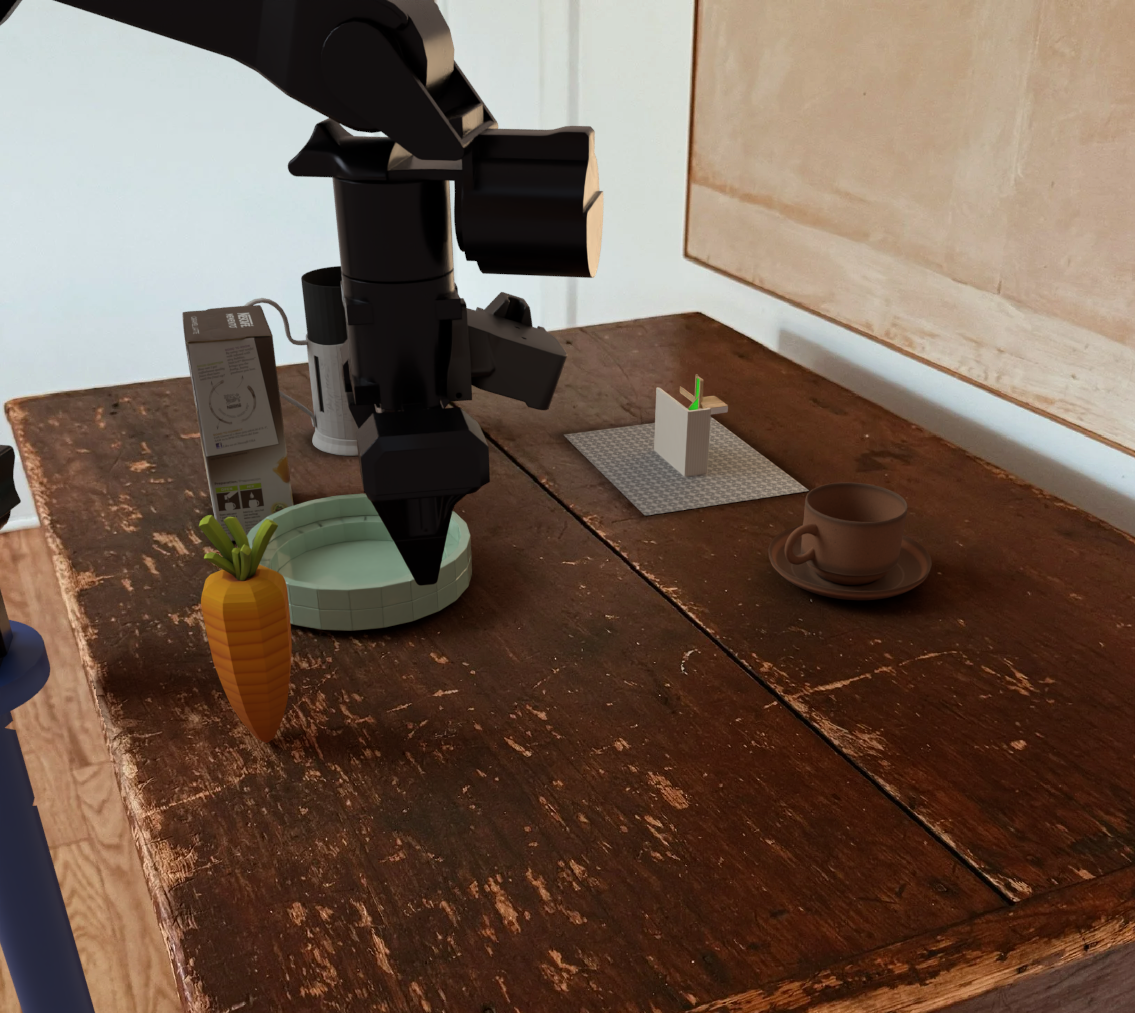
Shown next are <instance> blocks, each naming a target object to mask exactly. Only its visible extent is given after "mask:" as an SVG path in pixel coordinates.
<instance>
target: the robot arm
mask: <svg viewBox="0 0 1135 1013" xmlns="http://www.w3.org/2000/svg"><path fill="white" fill-rule="evenodd" d="M22 1H23V0H0V27H1V26H2V25H3V24H4V23H6V22H7V21H8V20H9V19H10V18H11V16H12V14H13V13H14V12H15V11H16V9H17V8H18V7H19V6H20V4H21V3H22ZM53 1H54V2H57V3H60V4H63V5H66V6H69V7H72V8H75V9H77V10H82V11H84V12H87V13H91V14H93V15H97V16H99V17H104V18H106V19H110V20H112V21H115V22H119V23H121V24H124V25H127V26H130V27H134V28H137V29H140V30H143V31H146V32H149V33H152V34H155V35H158V36H162V37H165V38H168V39H171V40H174V41H177V42H180V43H183V44H186V45H189V46H191V47H195V48H198V49H201V50H205V51H208V52H211V53H213V54H217V55H220V56H223V57H226V58H229V59H231V60H234V61H236V62H238V63H239V64H241V65H243V66H246V67H247V68H249V69H251V70H253V71H254V72H256V73H258V74H259V75H261V77H263V78H264V79H265V80H267V81H268V82H269V83H270V84H271V85H273V86H274V87H276V88H277V89H278V90H279V91H281V93H283V94H285V95H286V96H288V97H290V98H291V99H293V100H295V101H296V102H298V103H300V104H302V105H303V106H305V107H307V108H310V109H311V110H313V111H315V112H317V113H319V114H321V115H323V116H325V117H327V118H326V119H324V120H321V121H319V122H317V123H316V124H315V125H314V128H313V131H312V133H311V135H310V137H309V139H308V140H307V141H306V143H305V145H304V146H303V147H302V148H301V150H300V151H299V152H298V153H297V154H296V155H295V156H294V157H292V158H291V159H290V160H289V161H288V163H287V170H288V173H289V174H290V175H291V176H293V177H296V178H297V177H298V178H299V177H300V178H332V189H333V200H334V209H335V218H336V219H335V220H336V231H337V241H338V250H339V252H338V253H339V261H340V263H339V264H340V266H341V274H342V281H341V291H342V301H343V305H344V309H345V316H346V326H347V336H348V339H347V340H346V341H345V343H344V344H343V345H342V346H341V347H340V348H339V350H340V360H341V370H342V379H343V385H344V390H345V393H346V397H347V402H348V407H349V410H350V412H351V414H352V416H353V418H354V420H355V422H356V425H357V427H358V431H357V432H356V438H357V449H358V455H357V457H358V467H359V473H360V479H361V483H362V489H363V493H364V494H366V496H367V498H368V499H369V500H370V501H371V503H372V504H373V506H374V508H375V510H376V511H377V513H378V515H379V516H380V518H381V520H382V522H383V523H384V525H385V527H386V529H387V531H388V532H389V534H390V536H391V538H392V540H393V541H394V543H395V545H396V547H397V548H398V550H399V552H400V554H401V556H402V558H403V559H404V561H405V563H406V565H407V567H408V569H409V570H410V572H411V574H412V576H413V578H414V580H415V582H416V583H417V584H418V585H420V586H423V585H433V584H435V583H437V581H438V576H439V572H440V567H441V562H442V557H443V553H444V548H445V543H446V538H447V533H448V529H449V524H450V520H451V516H452V512H453V511H454V508H455V506H456V505H457V504H458V503H459V502H460V501H461V500H462V499H463V498H465V497H466V496H467V495H471V494H475V493H477V492H478V491H480V490H481V488H482V487H484V486H486V485H487V484H489V483H490V482H491V474H490V473H491V472H490V471H491V470H490V447H489V444H488V442H487V439H486V437H485V435H484V432H483V430H482V428H481V425H480V424H479V422H478V421H477V420H475V419H474V418H473V417H472V416H471V415H470V414H468V412H466V411H465V410H464V409H462V407H461V406H456V407H448V405H449V404H450V403H451V402H464V401H473V388H472V387H474V388H476V389H479V390H481V391H484V392H487V393H491V394H495V395H498V396H502V397H505V398H508V399H512V400H516V401H520V402H522V403H525V406H526V407H528V408H530V409H534V410H538V411H548V410H549V409H550V407H551V403H552V400H553V398H554V395H555V392H556V389H557V386H558V384H559V381H560V377H561V375H562V372H563V369H564V367H565V364H566V361H567V358H568V352H567V351H566V350H565V348H564V347H563V345H562V344H561V343H560V341H559V340H558V338H557V337H556V336H555V335H553V334H552V333H550V332H548V331H547V330H546V328H545V327H543V326H541V325H537V327H535V326H533V319H532V318H533V317H532V313H531V312H532V311H531V307H530V306H529V304H528V303H527V301H526V300H525V299H524V298H523V297H520V296H516V295H513V294H510V293H507V292H504V291H500V292H499V294H497V296H495V298H493V300H491V302H490V303H489V304H488V305H487V306H486V307H485V308H482V307H480V306H476V309H473V308H469V307H467V302H466V300H465V298H463V297H462V298H461V296H460V295H459V287H458V286H457V283H456V282H455V268H454V267H455V266H454V247H453V246H454V244H453V243H454V242H453V227H452V226H453V225H452V222H453V221H452V208H451V206H452V205H451V204H452V203H451V183H450V182H453V186H454V187H453V188H454V196H453V197H454V198H453V199H454V203H453V220H454V233H455V239H456V244H457V246H458V248H459V251H461V252H462V253H464V258H465V260H466V262H476V265H477V267H478V270H479V271H480V273H482V274H483V275H506V276H507V275H509V276H531V277H535V276H537V277H557V278H559V277H561V278H584V279H585V278H586V279H594V278H596V275H597V271H598V269H599V264H600V263H599V262H600V259H601V258H600V257H601V249H602V242H603V241H602V240H603V227H604V226H603V225H604V190H600V177H599V176H600V174H599V173H600V172H599V166H598V165H599V164H598V159H597V156H596V152H595V147H596V146H595V138H596V136H595V134H596V131H595V129H594V128H593V127H592V126H590V125H564V126H561V127H557V128H553V129H527V128H526V129H525V128H499V123H498V121H497V119H496V117H495V116H494V115H493V113H492V112H491V110H490V109H489V107H487V105H486V103H485V102H484V101H483V99H482V97H481V96H480V95H479V94H478V92H477V91H476V89H475V87H474V86H473V85H472V83H471V82H470V81H469V79H468V78H467V76H466V74H465V73H464V72H463V70H462V69H461V67H460V66H459V64H458V63H457V61H456V60H455V47H454V42H453V36H452V33H451V28H450V27H449V25H448V23H447V21H446V18H445V17H444V15H443V14H442V12H441V10H440V7H439V5H438V4H437V3H436V2H435V1H434V0H52V2H53ZM344 127H345V128H344ZM346 128H347V129H351V130H353V131H354V132H355V131H356V132H360V133H369V134H375V133H382V134H383V135H385V136H365V135H364V136H362V135H353V134H352V133H350V131H348V130H347V129H346ZM15 461H16V452H15V449H14V447H13V446H12V445H9V444H0V530H2V529H3V528H4V527H5V526H6V525H7V524H8V522H9V520H10V518H11V513H12V510H13V509H15V507H18V506H19V504H21V503H22V500H21V497H20V495H19V493H18V491H17V489H16V483H15V479H14V473H15V472H14V470H15V463H16V462H15ZM6 608H7V607H6V605H5V600H4V597H3V593H2V588H0V667H1V664H2V661H3V658H4V657H5V656H6V655H7V654H8V651H9V648H10V645H11V642H12V639H13V634H12V630H11V626H10V622H9V620H10V619H9V615H8V611H7V609H6Z"/></svg>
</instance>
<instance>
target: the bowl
mask: <svg viewBox="0 0 1135 1013" xmlns="http://www.w3.org/2000/svg"><path fill="white" fill-rule="evenodd" d="M266 519H270V520H272V521H274V522H275V523H277V525H278V527H277V529H276V531H275V532H274V534H273V535H272V537H271V539H270V541H269V543H268V545H267V548H266V550H265V552H264V554H263V557H262V559H261V561H260V563H259V564H260V565H262V566H265V567H267V568H269V569H272V570H274V571H276V572H278V573H279V574H281V575H283V577H284V579H285V581H286V585H287V592H288V602H289V612H290V624H291V625H294V626H298V627H304V628H310V629H315V630H323V631H351V632H352V631H363V630H375V629H384V628H388V627H392V626H393V627H394V626H397V625H403V624H406V623H412V622H415V621H417V620H420V619H423V618H425V617H428V616H430V615H433V614H435V613H438V612H440V611H442V610H443V609H445V608H446V607H449V605H451V604H453V603H455V602H456V601H457V600H458V599H459V598H460V597H461V596H462V594H463V593H464V592H465V591H466V590H467V589H468V587H469V585H470V582H471V578H472V576H473V564H472V563H473V560H472V541H471V533H470V529H469V526H468V524H467V522H466V521H465V520H464V519H463V518H462V517H461V516H460V515H459V514H458V513H457V512H455V511H454V510H453V512H452V516H451V520H450V524H449V529H448V533H447V538H446V543H445V548H444V553H443V557H442V562H441V567H440V572H439V576H438V581H437V583H435V584H433V585H423V586H420V585H418V584H417V583H416V582H415V580H414V578H413V576H412V574H411V572H410V570H409V569H408V567H407V565H406V563H405V561H404V559H403V558H402V556H401V554H400V552H399V550H398V548H397V547H396V545H395V543H394V541H393V540H392V538H391V536H390V534H389V532H388V531H387V529H386V527H385V525H384V523H383V522H382V520H381V518H380V516H379V515H378V513H377V511H376V510H375V508H374V506H373V504H372V503H371V501H370V500H369V499H368V498H367V496H366V494H365V493H353V494H341V495H332V496H327V497H321V498H316V499H311V500H308V501H304V502H300V503H297V504H293V506H291V507H287V508H285V509H283V510H280V511H278V512H276V513H274V514H272V515H270V516H268V517H266V518H265V519H263V520H262V521H261V522H259V523H258V524H257V525H255V526H254V527H253V528H252V529H251V530H250V531H249V533H248V535H247V538H248V541H249V545H250V548H251V549H252V546H253V543H254V540H255V536H256V533H257V531H258V529H259V528H260V526H261V524H262V523H263V522H264V521H265V520H266Z"/></svg>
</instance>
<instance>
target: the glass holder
mask: <svg viewBox="0 0 1135 1013" xmlns="http://www.w3.org/2000/svg"><path fill="white" fill-rule="evenodd" d="M300 280H301V289H302V290H301V291H302V299H303V307H304V308H303V309H304V317H305V326H306V334H305V339H302V340H297V339H294V338H293V337H292V335H291V334H292V333H291V328H290V324H289V319H288V317H287V314H286V313H285V311H284V309H283V308H282V306H280V305H279V304H278V303H277V302H276V301H274V300H272V299H270V298H265V297H259V298H254V299H252V300H249V301H248V302H246V303H245V304H244V305H243V306H254V305H259V304H268V305H270V306H271V307H273V308H275V310H276V311H278V313H279V315H280V317H281V319H282V323H283V328H284V332H285V336H286V338H287V340H288V342H290V343H291V344H292V345H295V346H306V352H307V360H308V361H307V362H308V363H307V364H308V370H309V371H308V372H309V379H310V380H309V382H310V388H311V397H312V408H313V412H312V411H311V410H310V408H309V409H308V408H307V407H306V406H305V405H303V404H302V403H301V402H299V401H298V400H296V399H294V398H292V397H291V396H290V395H287V394H286V393H284V392H283V391H281V390H280V389H279V393H280V398H282V399H284V400H285V401H287V402H288V403H290V404H291V405H293V406H295V408H298V409H299V410H301V411H302V412H303V413H305V414H306V415H308V416H309V417H310V419H311V424H312V427H313V428H314V433H313V435H312V445H313V446H314V447H315V448H316V449H318V450H319V451H322V452H323V453H327V454H330V455H331V454H332V455H337V456H351V457H352V456H353V457H354V456H355V457H358V449H357V438H356V432H357V431H358V427H357V425H356V422H355V420H354V418H353V416H352V414H351V412H350V410H349V407H348V402H347V397H346V393H345V390H344V385H343V379H342V370H341V360H340V350H339V348H340V347H341V346H342V345H343V344H344V343H345V341H346V340H347V339H348V336H347V326H346V316H345V309H344V305H343V301H342V291H341V281H342V274H341V265H335V266H327V267H321V268H317V269H313V270H310V271H307V272H305V273H304V274H302V275H301V279H300Z"/></svg>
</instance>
